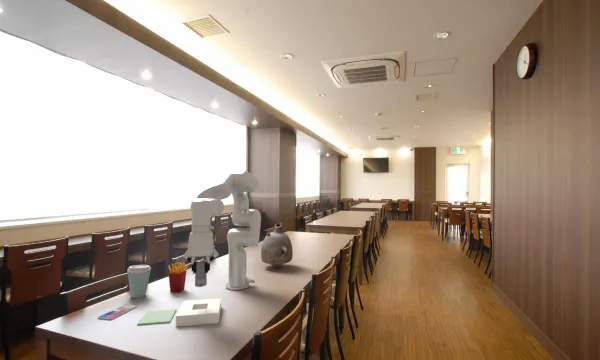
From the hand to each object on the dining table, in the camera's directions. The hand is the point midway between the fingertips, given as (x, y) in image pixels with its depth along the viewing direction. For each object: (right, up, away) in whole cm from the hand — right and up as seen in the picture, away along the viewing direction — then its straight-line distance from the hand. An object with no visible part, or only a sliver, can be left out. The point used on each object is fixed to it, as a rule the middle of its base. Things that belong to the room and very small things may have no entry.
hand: (200, 272), depth 126 cm
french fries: (-23, -19, +31) cm, 43 cm away
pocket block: (0, -18, -1) cm, 18 cm away
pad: (-17, -18, -2) cm, 25 cm away
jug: (+26, -21, +78) cm, 85 cm away
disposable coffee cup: (-39, -19, +23) cm, 49 cm away
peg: (0, -5, 0) cm, 5 cm away
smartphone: (-37, -19, +3) cm, 41 cm away
